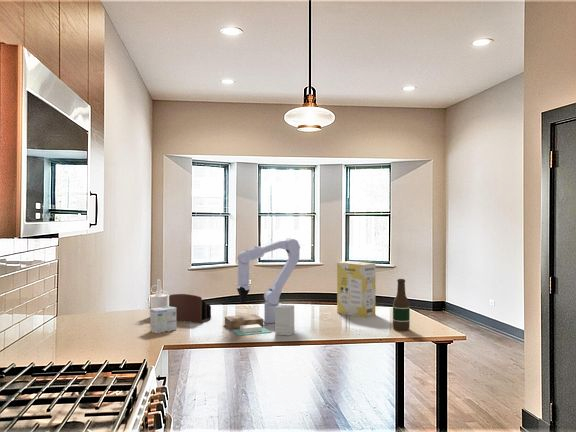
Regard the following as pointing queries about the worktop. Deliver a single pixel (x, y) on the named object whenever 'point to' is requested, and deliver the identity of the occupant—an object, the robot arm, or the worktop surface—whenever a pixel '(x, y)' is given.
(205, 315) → the letter holder
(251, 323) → the board
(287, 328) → the supplement box
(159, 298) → the white necked piece
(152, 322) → the light bulb box
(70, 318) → the worktop surface
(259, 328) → the cream white block
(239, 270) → the robot arm
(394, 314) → the beer bottle
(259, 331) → the mat
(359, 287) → the pasta box
